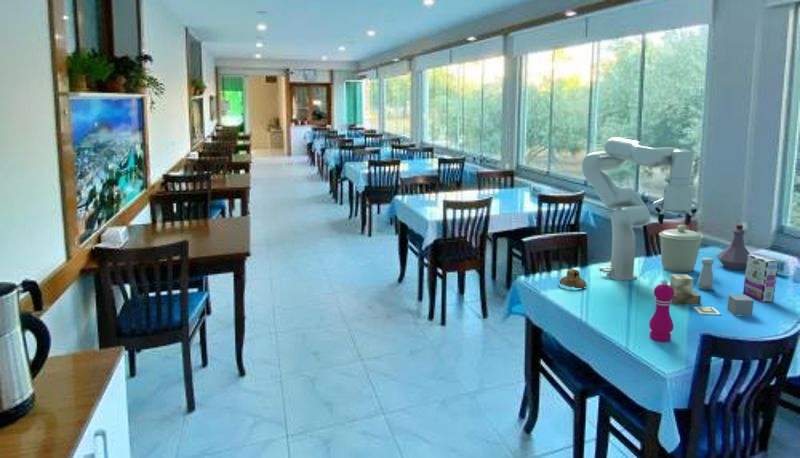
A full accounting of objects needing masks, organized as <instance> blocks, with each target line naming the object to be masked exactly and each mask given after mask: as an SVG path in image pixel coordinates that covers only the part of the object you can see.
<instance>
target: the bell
mask: <svg viewBox="0 0 800 458" xmlns="http://www.w3.org/2000/svg"><path fill="white" fill-rule="evenodd" d="M559 282H560V284H562V285H565V286H569V287H575V288H584V287H586V286H587V287H588V284H587V282H586V281H585V280H584V279H583V278H582V277H581V275H580V271H579V270H578V269H573V268H572V269H567V271H566V276H563V277H561V278H560V279H559V280H558V283H559ZM587 287H586V288H587Z"/></svg>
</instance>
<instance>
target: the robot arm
mask: <svg viewBox="0 0 800 458" xmlns="http://www.w3.org/2000/svg"><path fill="white" fill-rule="evenodd" d="M626 161H632V162H633V163H634V164H636V165H639V166H644V167H649V168H660V167H670V168H669V169H670V170H669V176H668V177H667V178H664V182H665V183H667V184H666V185H665V187H664V191H663V195H662V198H660V199H658V200H655V201H653V202H652V206H653V208H654V210H655V211H656V212H657V213H658V215H657V221H658V223H659V225H663V224H664V220H665V219H664V217H665V215H664V213H665V212H667V211H669V212H670V211H672V212H685V217H684V225H686V226H689V225H690V224H691V220H692V216H693V215H694V214H695V213H696V212H697V211H698V209H699V208H700V207H701V204H700V203H698V202H696V201H694V200H693V186H692V185H690V184H691V177H692V169H693V161H694V152H693V151H692V150H691V149H680V148H676V147H673V146H670V147H669V146H668V147H667V146H666V147H665V146H664V147H648V146H645V145H644V143H643V142H642V141H640V140H636V139H635V138H634V137H632V136H617V137H616V136H615V137H611V138H610V139H609V138H608V140H606V141H605V144H604V151H595V152H591V153H588V154H586V155H585V156H584V158H583V159H582V163H581V170H582V174H583V177H585V179H586V180H587V182H588V183H589V184H590V186H591V187H592V188H593V190H594V191H595V193H596V194H597V196H598V198H600V201H601V202H602V203H603V204H604V206H605V207H606V209H608V210H613V212H612V213H611V217H610V221H611V229H612V239H611V253H610V254H611V255H610V257H611V259H610V264H609V265H608V266H607V267H605V266H604V267H603V266H600V267H599V270H598V271H599V272H603V273H606V277H607V276H608V277H607V278H609V277H610V278H609V279H611V278H613V279H612V280H615V279H616V281H634V280H636V279H637V278H638V275H637V274H636V273H634V270H635V269H634V268H635V255H636V253H635V252H636V235H635V232H634V229H635V228H639V227H644V226H646V225H648V223H649V222H650V220H651V213H650V210H649V208H648V207H647V205H646V204H645V202H644V201H643V199H642V198H641V197H640V195H639V194H638V193H637V191H636V190H635V189H633V187H630V186H617V185H616V184H615V183H614V181H613V179H612V178H611V177H610V176H609V175H608V174H606V173H604V172H603V171H609V170H611V171H612V170H614V169H618V168H619V167H620V166H621V165H623V164H624V163H625V162H626ZM660 204H661V208H659V207H658V205H660ZM692 205H693V206H694V207H692Z"/></svg>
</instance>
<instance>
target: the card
mask: <svg viewBox="0 0 800 458" xmlns="http://www.w3.org/2000/svg"><path fill="white" fill-rule="evenodd" d="M692 308H693V309H694V310H695V311H696V312H697V313H698V314H699V315H706V316H707V315H710V316H711V315H714V316H721V312H719V311H718V310H717V309H716V308H715V307H713V306H712V307H711V306H693V307H692Z"/></svg>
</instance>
